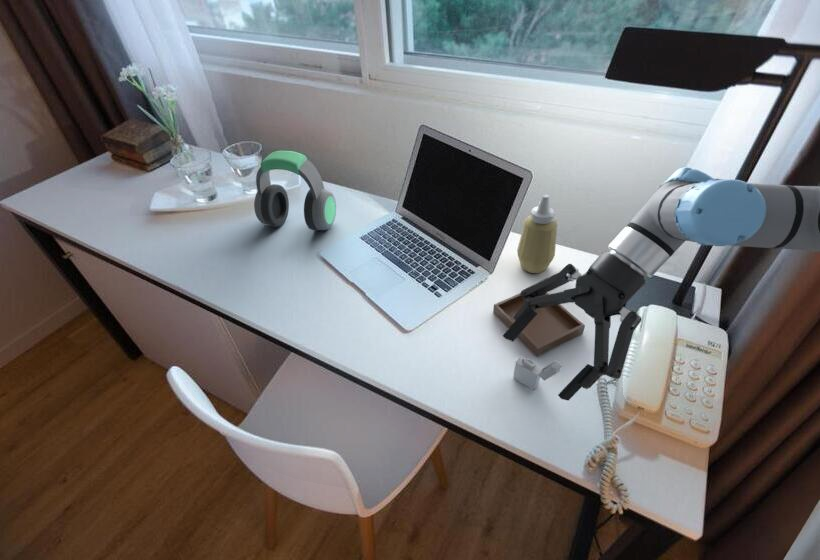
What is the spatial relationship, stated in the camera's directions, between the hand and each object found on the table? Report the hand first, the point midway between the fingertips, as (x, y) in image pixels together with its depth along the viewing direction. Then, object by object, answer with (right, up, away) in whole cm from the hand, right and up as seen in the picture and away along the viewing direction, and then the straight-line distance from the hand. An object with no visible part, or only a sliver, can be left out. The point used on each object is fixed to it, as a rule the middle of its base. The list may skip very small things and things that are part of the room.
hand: (533, 366), depth 70 cm
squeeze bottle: (+8, +17, +28) cm, 34 cm away
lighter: (+1, -4, +4) cm, 6 cm away
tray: (+5, +6, +15) cm, 16 cm away
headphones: (-49, +29, +45) cm, 73 cm away
